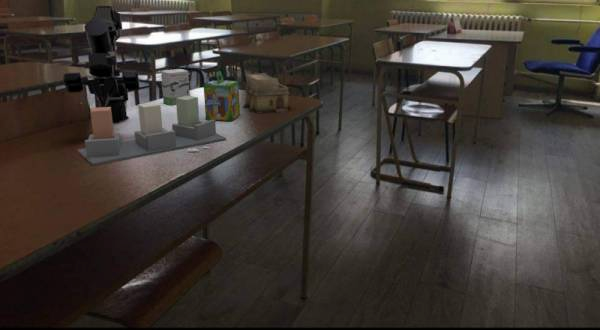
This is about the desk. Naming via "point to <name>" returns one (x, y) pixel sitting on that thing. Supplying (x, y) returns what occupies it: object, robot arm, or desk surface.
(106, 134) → the terracotta box
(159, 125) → the cream box
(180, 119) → the sage box
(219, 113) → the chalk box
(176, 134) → the grey three-slot stand
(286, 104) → the miniature house
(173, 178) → the desk surface
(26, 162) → the desk surface
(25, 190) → the desk surface
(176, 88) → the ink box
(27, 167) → the desk surface
